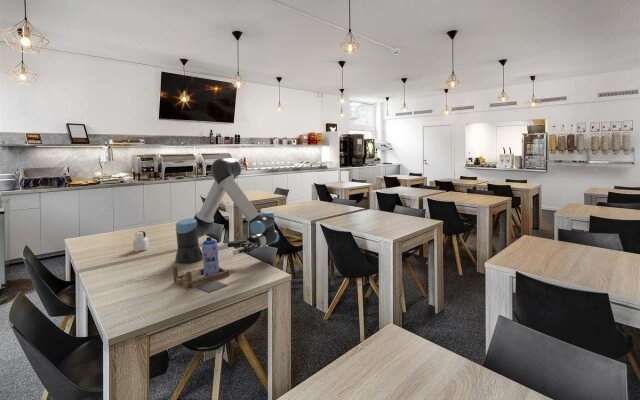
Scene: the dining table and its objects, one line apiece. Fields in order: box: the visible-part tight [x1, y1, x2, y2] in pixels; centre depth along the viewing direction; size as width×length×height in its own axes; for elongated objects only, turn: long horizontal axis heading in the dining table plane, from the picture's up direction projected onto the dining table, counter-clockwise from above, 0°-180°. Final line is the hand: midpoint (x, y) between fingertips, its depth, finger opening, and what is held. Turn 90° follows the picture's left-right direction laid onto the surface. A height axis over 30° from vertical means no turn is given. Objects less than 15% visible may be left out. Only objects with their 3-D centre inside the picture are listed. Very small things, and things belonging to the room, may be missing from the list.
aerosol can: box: [201, 237, 220, 278], centre depth 175 cm, size 8×8×20 cm
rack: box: [172, 265, 230, 290], centre depth 172 cm, size 14×22×8 cm, turn 141°
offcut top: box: [183, 269, 202, 279], centre depth 168 cm, size 6×5×2 cm
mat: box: [196, 280, 228, 294], centre depth 162 cm, size 10×10×1 cm
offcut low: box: [183, 276, 203, 282], centre depth 168 cm, size 7×6×3 cm
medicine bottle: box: [132, 230, 150, 252], centre depth 226 cm, size 7×7×12 cm
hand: (225, 250), depth 182 cm, fingers open, 13 cm apart
